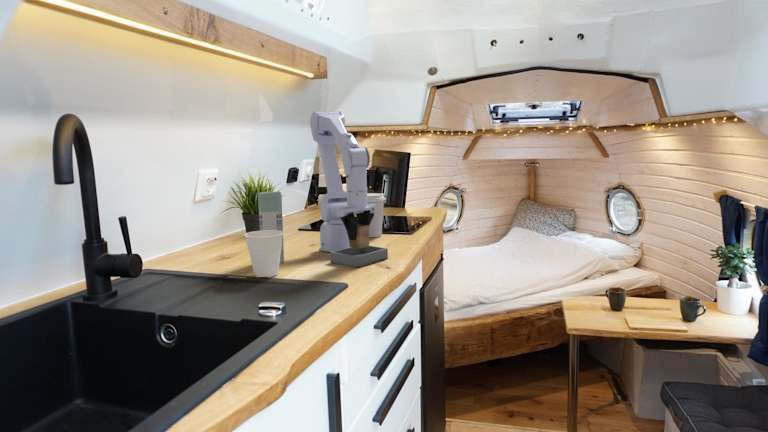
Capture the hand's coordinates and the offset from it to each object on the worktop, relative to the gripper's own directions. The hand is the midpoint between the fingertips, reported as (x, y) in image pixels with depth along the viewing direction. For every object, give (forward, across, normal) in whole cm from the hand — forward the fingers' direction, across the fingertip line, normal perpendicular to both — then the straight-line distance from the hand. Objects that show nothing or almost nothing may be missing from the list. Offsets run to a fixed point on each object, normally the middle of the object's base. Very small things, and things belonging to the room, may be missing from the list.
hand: (357, 238), depth 145 cm
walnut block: (+2, 0, 0) cm, 2 cm away
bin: (+6, 0, 0) cm, 7 cm away
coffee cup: (+7, +31, +21) cm, 38 cm away
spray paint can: (+7, -16, +19) cm, 25 cm away
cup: (+7, -26, +9) cm, 28 cm away
